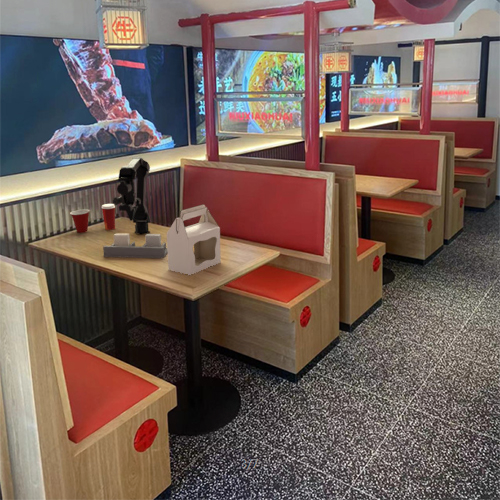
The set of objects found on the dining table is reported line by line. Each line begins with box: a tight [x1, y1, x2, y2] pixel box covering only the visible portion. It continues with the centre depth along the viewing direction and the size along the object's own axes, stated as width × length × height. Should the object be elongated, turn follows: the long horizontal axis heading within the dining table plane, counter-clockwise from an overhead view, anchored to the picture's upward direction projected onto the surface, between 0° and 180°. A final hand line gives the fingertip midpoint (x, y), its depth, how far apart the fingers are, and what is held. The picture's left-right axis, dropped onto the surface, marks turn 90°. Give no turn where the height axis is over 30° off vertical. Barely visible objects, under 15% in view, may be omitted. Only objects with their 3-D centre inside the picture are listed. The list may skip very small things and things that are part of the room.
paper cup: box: [101, 203, 116, 231], centre depth 315 cm, size 8×8×14 cm
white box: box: [144, 233, 162, 247], centre depth 272 cm, size 3×7×8 cm, turn 85°
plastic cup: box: [69, 209, 91, 234], centre depth 310 cm, size 11×11×12 cm
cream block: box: [113, 233, 131, 246], centre depth 274 cm, size 3×7×8 cm, turn 85°
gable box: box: [166, 204, 222, 276], centre depth 249 cm, size 22×13×28 cm, turn 144°
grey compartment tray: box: [102, 241, 168, 259], centre depth 272 cm, size 13×30×5 cm, turn 85°
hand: (131, 220), depth 288 cm, fingers closed
